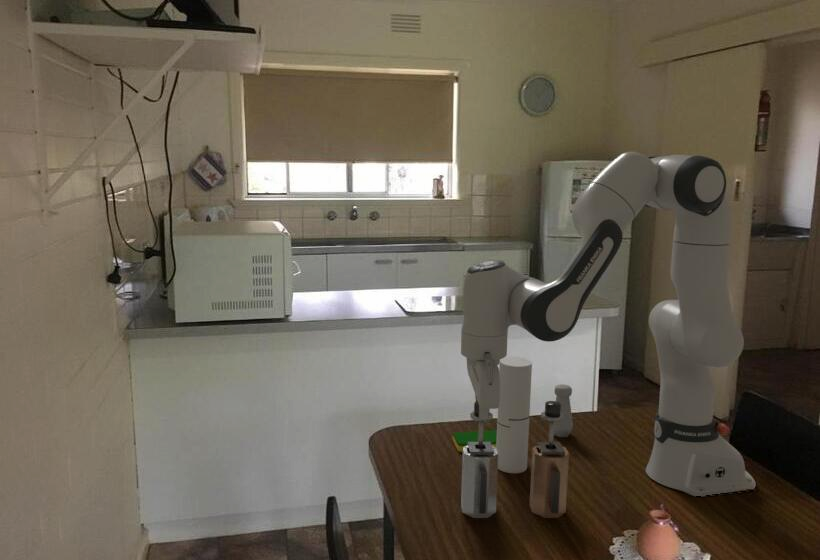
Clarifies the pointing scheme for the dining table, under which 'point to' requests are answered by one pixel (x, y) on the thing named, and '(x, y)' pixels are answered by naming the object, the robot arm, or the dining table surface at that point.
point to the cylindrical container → (513, 414)
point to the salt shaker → (563, 411)
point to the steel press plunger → (475, 417)
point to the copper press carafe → (549, 480)
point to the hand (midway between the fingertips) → (481, 413)
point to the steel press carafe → (479, 480)
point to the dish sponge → (473, 438)
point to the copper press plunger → (552, 418)
